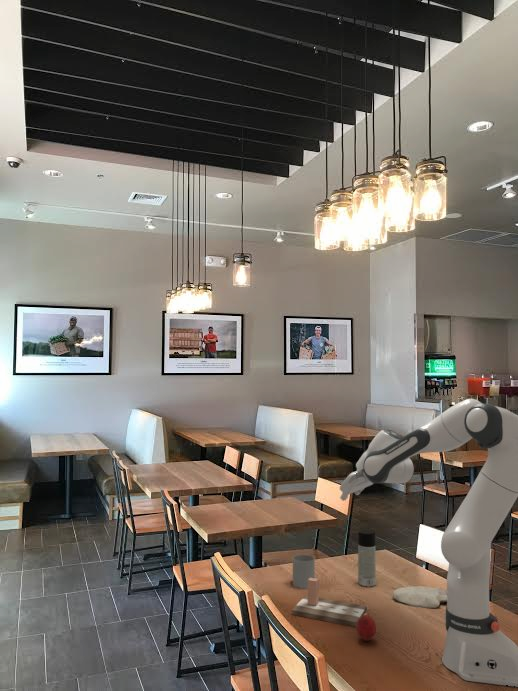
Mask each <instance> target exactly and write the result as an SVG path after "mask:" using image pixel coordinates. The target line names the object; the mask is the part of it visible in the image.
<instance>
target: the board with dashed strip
mask: <svg viewBox="0 0 518 691" xmlns="http://www.w3.org/2000/svg"><path fill="white" fill-rule="evenodd" d="M366 611H368V606H367V605H364V604H362V605H361V604H356V603H351V602H344V601H339V600H334V599H328V598H321V597H318V604H317V605H310V604H308V595H304V597H303V598H301V599H300V601H298V603H297V604H296V605H295V606H294V607H293V608H292V609H291V615H292V616H297V617H302V618H308V619H312V620H313V619H314V620H318V621H323V622H329V623H334V624H338V625H339V624H340V625H345V626H349V625H350V627H354V626H355V628H357V623H358V620H359V619H360V618H361V617H363V616H364V614H365V613H367V612H366Z"/></svg>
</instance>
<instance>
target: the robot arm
mask: <svg viewBox="0 0 518 691" xmlns="http://www.w3.org/2000/svg"><path fill="white" fill-rule="evenodd" d="M472 439H473V440H474V441H475V442H476V443H477V445H478V446H479V447H480V448H481V449H487V452H488V453H487V454H488V455H487V458H486V461H485V462H484V464H483V466H482V467H481V469H480V471H479V473H478V475H477V477H476V478H475V480H474V482H473V484H472V486H471V487H470V488H469V490H468V492H467V495H466V496H465V498H464V499H463V501H462V502H461V504H460V506H459V507H458V509H457V511H456V512H455V514H454V516H453V517H452V518H451V521H450V522H449V524H448V525H447V527H446V528H445V530H444V532H443V534H442V536H441V541H440V550H441V554H442V557H444V559H445V560H446V561H447V562H448V568H447V576H446V593H447V602H446V607H445V612H444V625H445V630H446V635H445V643H444V649H443V654H442V656H441V662H442V665H444V666H445V667H446V668H447V669H448V670H450V671H452V672H453V673H456V675H458V676H459V677H460V678H461V679H463V680H464V681H469V682H474V683H481V684H482V683H484V684H491V685H499V686H506V685H508V687H514V686H515V687H516V688H518V646H517V643H515V642H514V641H513V640H512V639H510V637H508V636H507V635H505V634H504V633H503V632H502V631H501V629H500V623H499V620H498V618H497V615H496V614H492V613H491V612H490V576H491V560H492V558H491V553H492V551H491V550H492V542H493V540H494V538H495V537H496V535H497V534H498V531H499V530H500V527H501V526H502V524H503V523H504V521H505V519H506V518H507V516H508V514H509V513H510V510H511V509H512V507H513V505H514V504H515V502H516V500H517V499H518V414H515V413H514V412H512V411H510V410H509V409H506V408H504V407H500V406H496V405H494V404H491V403H482V401H479V400H477V399H476V398H475V399H474V398H467V399H464V400H462V401H460V402H458V403H455V404H454V405H452V406H451V407H449V408H447V409H446V410H445V411H443V412H441V413H440V414H439V415H438V416H436V417H435V418H433V419H432V420H430V421H429V422H426V423H425V424H424V425H422V426H420V427H419V428H417V429H415V430H413V431H411V432H410V433H407V434H405V435H404V436H401V435H400V434H399V433H398V432H396V431H394V430H392V429H385V428H384V429H381V430H380V431H379V432H378V433H377V434H376V435H375V436H374V438H373V439H372V440H371V442H369V444H368V448H367V449H366V450H365V451H364V452H363V453H362V454H361V456H360V457H359V459H358V461H357V462H356V463H355V468H356V471H352V472H351V473H349V474H348V475H347V477H346V478H345V479H344V480H343V482H342V483H341V485H340V486H339V490H340V491H341V492H342V493H341V495H340V500H341V501H342V502H343V501H346V500H347V499H348V497H349V495H350V494H353V493H354V494H355V495H356V496H358V495H360V494H361V492H362V491H364V490H365V488H367V487H370V486H372V485H374V484H407V483H409V482H410V481H411V480H412V478H413V475H414V473H415V466H414V463H413V460H412V459H411V458H412V457H414V456H416V455H419V454H425V453H426V454H427V453H445V452H446V453H447V452H451V451H453V450H456V449H458V448H461V447H462V446H463V445H464V444H466V443H467V442H469V441H470V440H472Z"/></svg>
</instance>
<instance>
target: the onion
mask: <svg viewBox="0 0 518 691" xmlns="http://www.w3.org/2000/svg"><path fill="white" fill-rule="evenodd" d="M369 615H370V614H369V613H368V612H366V613H365V615H364V616H363V617H361V618H360V619H359V620H358V623H357V627H356V632H357V633H358V635H359V637H360V638H361V639H362V640H364V641H365V642H369V641H370V640H371V639H372V638H374V636H375V635H376V634H377V624H376V622H375V620H374V619H373V618H372V617H370V616H369Z"/></svg>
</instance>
